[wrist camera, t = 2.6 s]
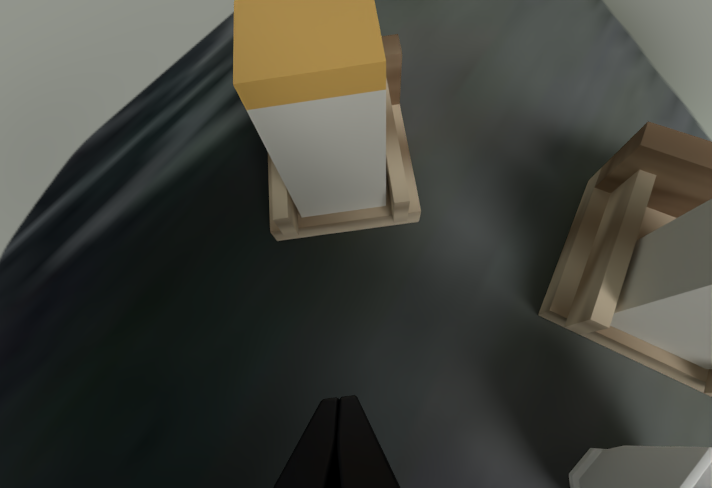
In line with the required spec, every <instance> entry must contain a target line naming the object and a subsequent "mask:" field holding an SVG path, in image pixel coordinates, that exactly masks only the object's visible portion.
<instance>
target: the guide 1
mask: <svg viewBox="0 0 712 488" xmlns="http://www.w3.org/2000/svg"><path fill="white" fill-rule="evenodd" d="M382 42H383V48H384V53H385V58H386V206H382V207H375V208H367V209H360V210H353V211H346V212H338V213H331V214H324V215H317V216H309V217H301V215H300V213H299V211H298V209H297V207H296V205H295V204H294V202H293V200H292V198H291V196H290V194H289V192H288V190H287V188H286V186H285V184H284V182H283V180H282V178H281V176H280V174H279V172H278V171H277V169H276V167H275V165H274V163H273V161H272V159H271V157H270V155H269V153H268V176H269V210H270V232H271V234H272V235H273V236H274V237H275V239H276V240H277V241H281V240H288V239H296V238H303V237H310V236H318V235H325V234H332V233H340V232H347V231H354V230H362V229H369V228H376V227H384V226H391V225H398V224H406V223H413V222H419V219H420V214H421V208H420V203H419V198H418V193H417V188H416V183H415V178H414V173H413V168H412V163H411V158H410V154H409V149H408V144H407V139H406V134H405V129H404V124H403V119H402V114H401V109H400V85H401V65H402V50H401V46H400V41H399V37H398V34H395V35H388V36H382Z"/></svg>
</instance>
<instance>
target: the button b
mask: <svg viewBox="0 0 712 488" xmlns="http://www.w3.org/2000/svg"><path fill="white" fill-rule="evenodd" d="M610 326H612V327H615V328H617V329H619V330H621V331H623V332H626V333H628V334H630V335H632V336H634V337H637V338H639V339H641V340H643V341H645V342H648V343H650V344H652V345H654V346H656V347H658V348H661V349H663V350H665V351H667V352H669V353H672V354H674V355H676V356H678V357H680V358H683V359H685V360H687V361H689V362H691V363H694V364H696V365H698V366H700V367H702V368H705V369H712V199H710V200H708V201H707V202H705V203H703V204H701V205H700V206H698V207H696V208H694V209H692V210H691V211H689V212H687V213H685V214H683V215H682V216H680V217H678V218H676V219H674V220H673V221H671V222H669V223H667V224H665V225H664V226H662V227H660V228H658V229H657V230H655V231H653V232H651V233H649V234H648V235H646V236H644V237H642V238H640V239H639V240H637V241H636V243H635V246H634V250H633V253H632V256H631V259H630V263H629V266H628V269H627V272H626V276H625V279H624V282H623V285H622V289H621V292H620V295H619V298H618V302H617V305H616V308H615V311H614V314H613V318H612V321H611V324H610Z"/></svg>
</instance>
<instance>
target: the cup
mask: <svg viewBox="0 0 712 488" xmlns="http://www.w3.org/2000/svg"><path fill="white" fill-rule="evenodd" d="M569 482H570V488H712V447H655V446H629V445H624V446H619V447H615V448H610V449H601V448H590V449H589V450H588V451H587V452H586V454H585V455H584V456H583V457H582V458H581V460H580V461H579V462H578V463H577V464H576V466H575V467H574V468H573V469H572V470H571V472H570V473H569Z"/></svg>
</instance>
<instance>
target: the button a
mask: <svg viewBox="0 0 712 488" xmlns="http://www.w3.org/2000/svg"><path fill="white" fill-rule="evenodd" d="M233 85H234V87H235V89H236V91H237V93H238V95H239V97H240V99H241V101H242V103H243V105H244V107H245V108H246V110H247V112H248V114H249V116H250V118H251V120H252V122H253V124H254V126H255V128H256V130H257V132H258V134H259V136H260V138H261V140H262V141H263V143H264V145H265V147H266V149H267V151H268V153H269V155H270V157H271V159H272V161H273V163H274V165H275V167H276V169H277V171H278V172H279V174H280V176H281V178H282V180H283V182H284V184H285V186H286V188H287V190H288V192H289V194H290V196H291V198H292V200H293V202H294V204H295V205H296V207H297V209H298V211H299V213H300V215H301V217H309V216H317V215H324V214H331V213H338V212H346V211H353V210H360V209H367V208H375V207H382V206H386V58H385V53H384V48H383V42H382V37H381V32H380V27H379V22H378V17H377V12H376V6H375V1H374V0H235V1H234V49H233Z"/></svg>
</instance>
